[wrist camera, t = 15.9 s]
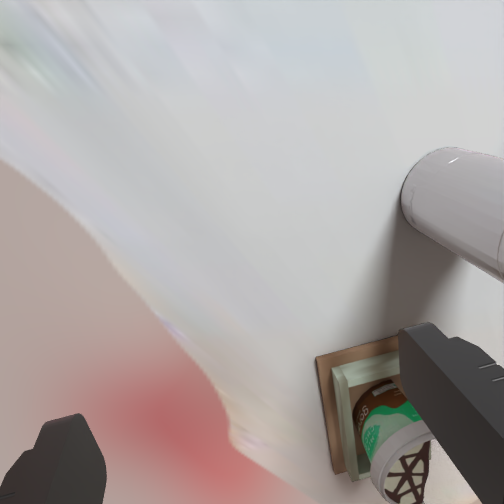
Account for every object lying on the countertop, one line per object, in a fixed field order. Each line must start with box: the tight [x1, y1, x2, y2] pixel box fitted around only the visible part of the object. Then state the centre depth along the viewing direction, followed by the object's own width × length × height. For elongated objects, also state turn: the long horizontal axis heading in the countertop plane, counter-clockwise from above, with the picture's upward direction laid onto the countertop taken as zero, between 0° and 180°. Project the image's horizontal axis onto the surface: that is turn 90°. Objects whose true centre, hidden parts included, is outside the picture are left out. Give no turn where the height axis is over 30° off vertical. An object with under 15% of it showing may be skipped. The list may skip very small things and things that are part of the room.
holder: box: [316, 335, 431, 482], centre depth 51 cm, size 14×20×4 cm
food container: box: [353, 379, 436, 504], centre depth 47 cm, size 12×6×10 cm, turn 5°
